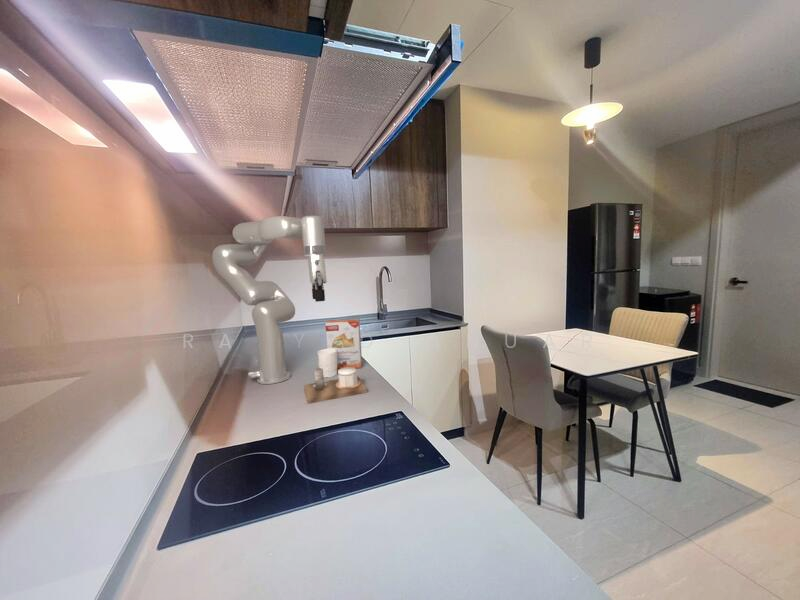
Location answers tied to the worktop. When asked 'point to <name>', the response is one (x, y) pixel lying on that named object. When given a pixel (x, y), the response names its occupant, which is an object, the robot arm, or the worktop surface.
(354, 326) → the cracker box
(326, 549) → the worktop surface
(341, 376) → the cap
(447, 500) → the worktop surface
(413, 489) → the worktop surface
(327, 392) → the post board
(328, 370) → the white cup
